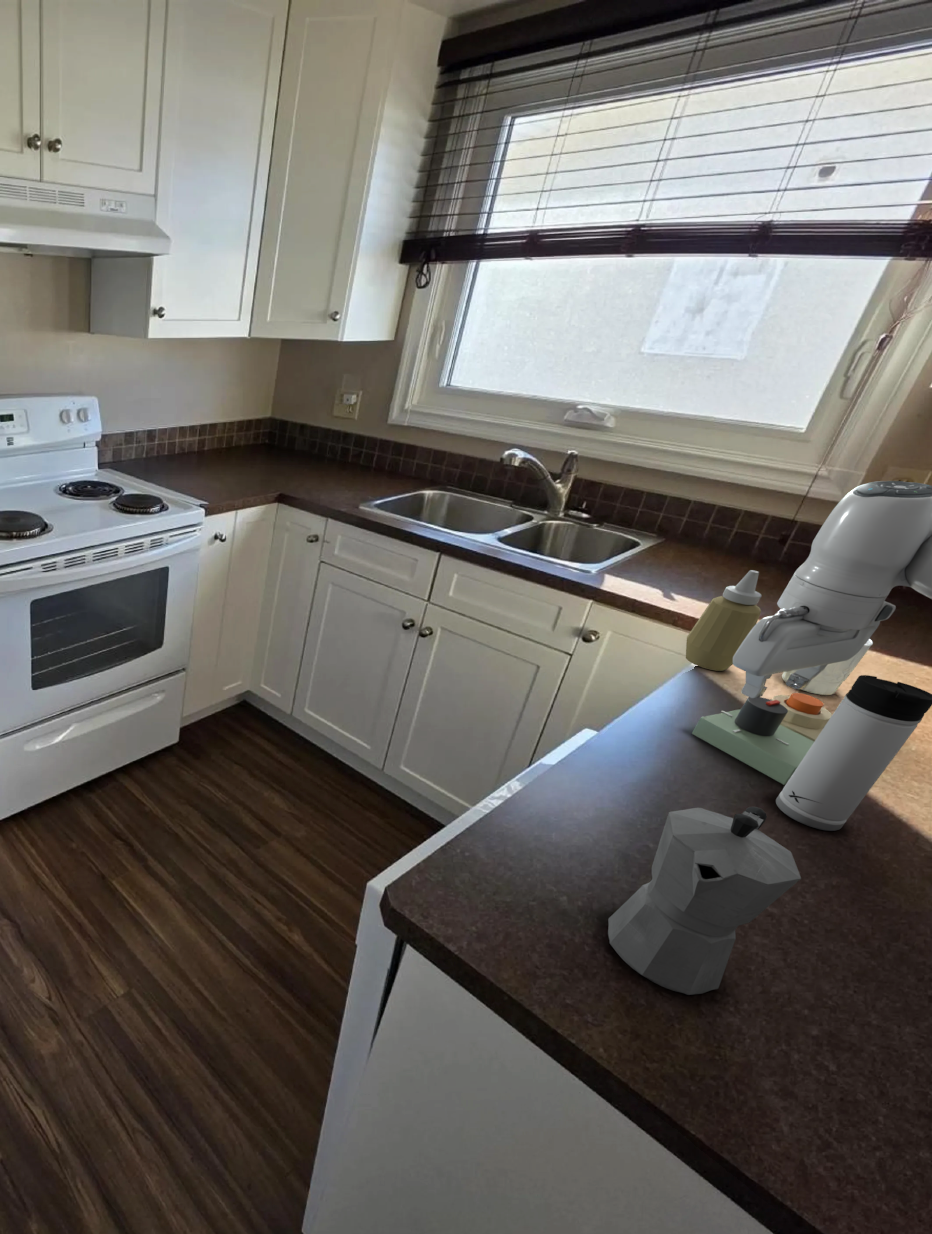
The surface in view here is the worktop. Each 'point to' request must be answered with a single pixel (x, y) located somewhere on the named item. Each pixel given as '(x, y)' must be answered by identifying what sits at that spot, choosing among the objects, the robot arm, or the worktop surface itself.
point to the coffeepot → (700, 897)
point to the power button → (804, 703)
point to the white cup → (832, 674)
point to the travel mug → (852, 751)
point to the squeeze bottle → (724, 625)
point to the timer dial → (761, 716)
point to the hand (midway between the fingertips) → (772, 691)
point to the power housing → (803, 720)
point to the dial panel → (755, 745)
